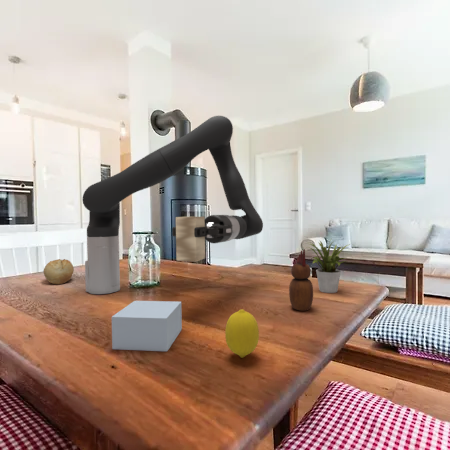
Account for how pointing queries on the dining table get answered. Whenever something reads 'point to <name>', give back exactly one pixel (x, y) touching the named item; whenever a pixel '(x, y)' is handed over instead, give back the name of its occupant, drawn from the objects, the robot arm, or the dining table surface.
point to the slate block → (147, 326)
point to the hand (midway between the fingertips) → (184, 232)
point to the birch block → (189, 239)
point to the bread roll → (58, 271)
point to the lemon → (242, 333)
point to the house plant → (328, 268)
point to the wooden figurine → (301, 285)
